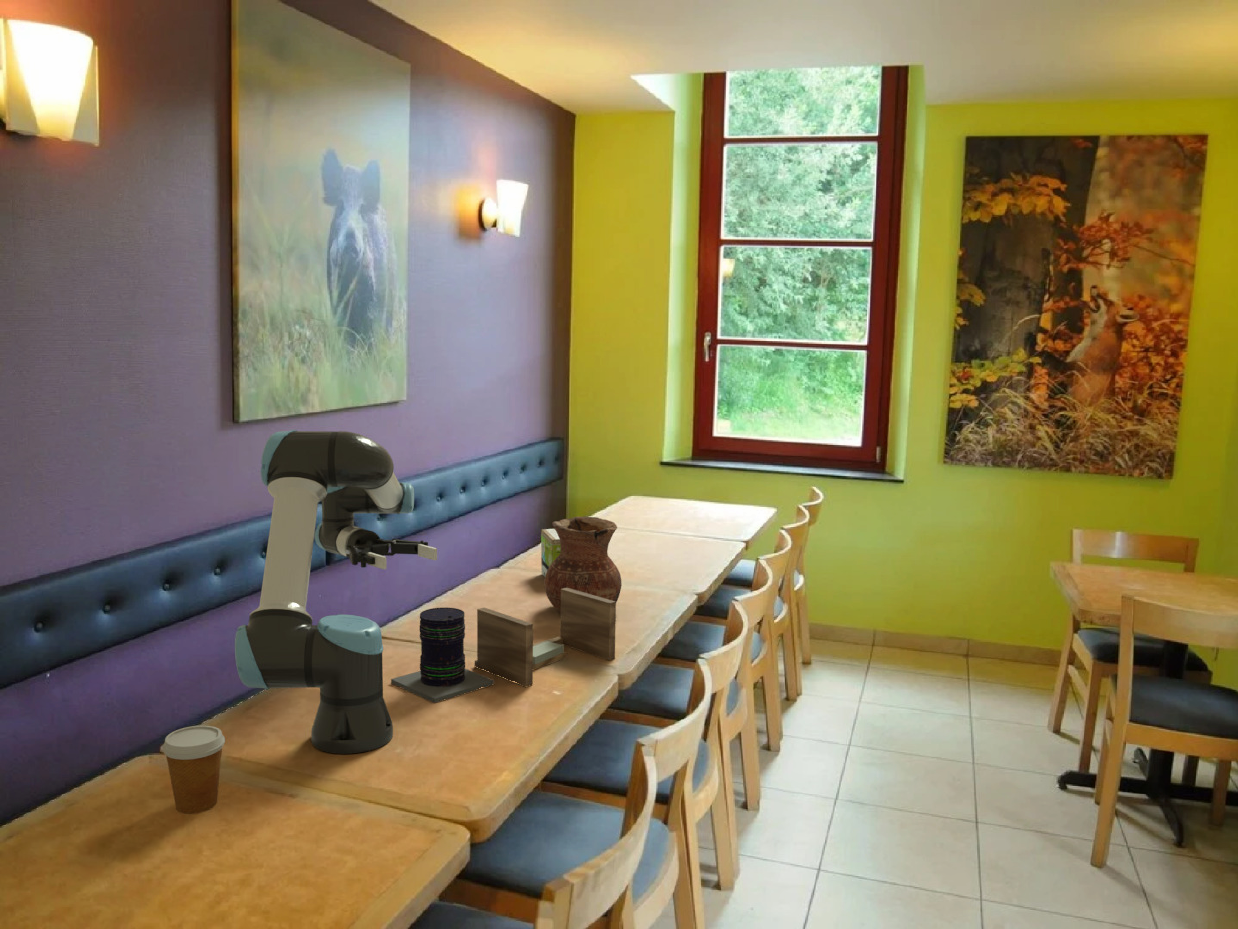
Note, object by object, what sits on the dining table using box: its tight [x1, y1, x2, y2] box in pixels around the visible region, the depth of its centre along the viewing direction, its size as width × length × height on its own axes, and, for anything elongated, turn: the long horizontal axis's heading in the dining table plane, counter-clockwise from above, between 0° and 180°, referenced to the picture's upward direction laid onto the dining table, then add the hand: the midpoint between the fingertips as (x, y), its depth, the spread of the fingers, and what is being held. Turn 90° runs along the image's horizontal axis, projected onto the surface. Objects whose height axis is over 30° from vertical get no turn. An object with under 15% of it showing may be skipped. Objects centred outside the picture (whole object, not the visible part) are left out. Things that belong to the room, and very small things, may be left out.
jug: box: [543, 516, 622, 613], centre depth 284 cm, size 22×21×25 cm
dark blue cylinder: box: [419, 607, 466, 687], centre depth 227 cm, size 10×10×15 cm
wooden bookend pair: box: [474, 588, 617, 687], centre depth 242 cm, size 28×18×14 cm, turn 136°
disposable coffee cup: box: [161, 725, 226, 814], centre depth 170 cm, size 10×10×12 cm
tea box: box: [540, 528, 561, 577], centre depth 319 cm, size 15×10×15 cm, turn 17°
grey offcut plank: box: [533, 641, 565, 664], centre depth 244 cm, size 11×5×2 cm, turn 146°
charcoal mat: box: [390, 668, 495, 704], centre depth 228 cm, size 16×16×1 cm
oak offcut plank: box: [533, 651, 568, 670], centre depth 245 cm, size 12×6×2 cm, turn 141°
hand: (411, 558), depth 233 cm, fingers open, 13 cm apart
